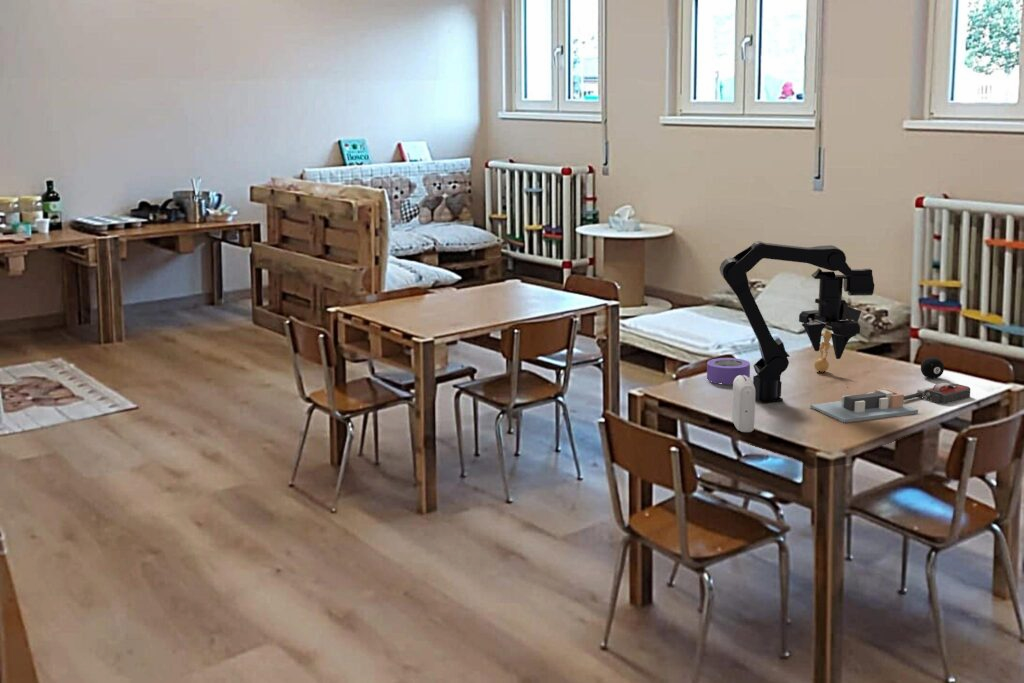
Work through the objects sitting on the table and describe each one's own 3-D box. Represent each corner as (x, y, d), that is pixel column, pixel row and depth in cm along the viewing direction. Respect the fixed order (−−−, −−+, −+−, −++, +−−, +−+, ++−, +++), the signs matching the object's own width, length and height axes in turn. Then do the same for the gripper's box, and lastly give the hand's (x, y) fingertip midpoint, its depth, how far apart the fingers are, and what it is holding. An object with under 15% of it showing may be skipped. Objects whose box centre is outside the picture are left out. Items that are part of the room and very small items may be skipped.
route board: (843, 422, 276) (844, 409, 275) (810, 407, 289) (810, 394, 288) (917, 412, 283) (918, 399, 282) (881, 398, 296) (882, 386, 295)
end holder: (892, 408, 285) (892, 395, 284) (874, 401, 291) (875, 389, 290) (902, 406, 286) (903, 394, 285) (885, 399, 292) (886, 387, 291)
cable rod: (851, 411, 283) (852, 397, 282) (843, 407, 286) (844, 394, 285) (892, 405, 287) (893, 392, 286) (883, 402, 290) (884, 389, 289)
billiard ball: (926, 381, 312) (927, 360, 311) (916, 375, 318) (917, 355, 317) (946, 380, 313) (948, 359, 312) (936, 375, 319) (938, 354, 317)
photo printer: (755, 432, 269) (757, 382, 266) (737, 432, 269) (739, 382, 266) (747, 420, 279) (749, 371, 276) (730, 420, 279) (731, 371, 276)
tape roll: (706, 384, 312) (706, 367, 311) (706, 374, 324) (707, 357, 323) (750, 386, 310) (750, 368, 309) (749, 375, 322) (749, 358, 320)
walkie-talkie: (945, 391, 304) (896, 403, 294) (947, 375, 303) (898, 386, 293) (974, 398, 297) (925, 410, 286) (976, 382, 296) (926, 394, 285)
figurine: (804, 370, 325) (806, 329, 322) (815, 366, 329) (817, 326, 327) (831, 375, 319) (833, 334, 317) (841, 371, 324) (843, 330, 321)
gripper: (880, 299, 284) (876, 359, 287) (834, 287, 301) (831, 344, 304) (842, 302, 280) (839, 364, 284) (799, 290, 297) (796, 348, 301)
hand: (827, 354), depth 293 cm, fingers open, 9 cm apart
